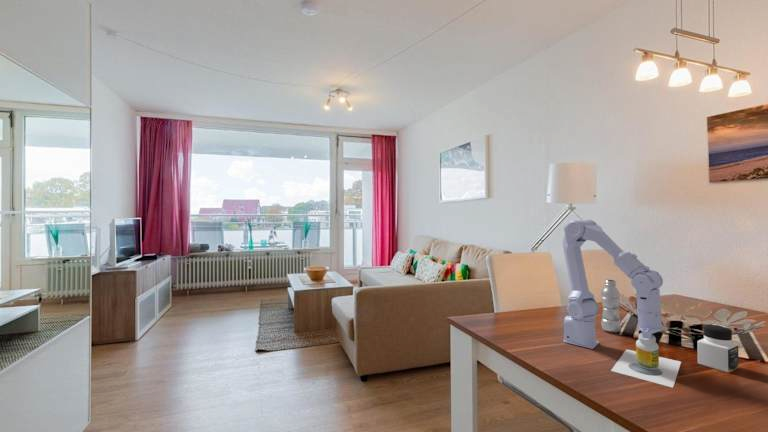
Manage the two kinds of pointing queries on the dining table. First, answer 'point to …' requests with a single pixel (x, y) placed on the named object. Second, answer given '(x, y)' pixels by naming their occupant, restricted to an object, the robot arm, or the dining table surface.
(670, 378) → the card
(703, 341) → the medicine bottle
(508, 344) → the dining table surface
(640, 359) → the supplement bottle
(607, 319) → the plastic bottle
